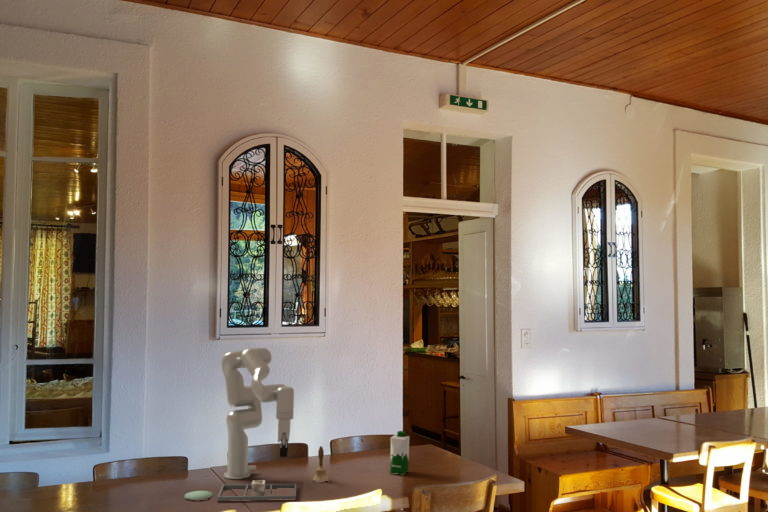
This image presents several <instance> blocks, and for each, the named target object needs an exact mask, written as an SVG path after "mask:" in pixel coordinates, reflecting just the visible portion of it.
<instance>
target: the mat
mask: <svg viewBox="0 0 768 512" xmlns="http://www.w3.org/2000/svg"><path fill="white" fill-rule="evenodd" d="M211 496H212V497H214V493H213V492H212V491H208V490H195V491H189V492H187V493H185V494H184V499H185V498H187V499H193V500H199V499H206V498H209V497H211ZM212 497H211V498H212Z"/></svg>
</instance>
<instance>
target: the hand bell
mask: <svg viewBox="0 0 768 512" xmlns="http://www.w3.org/2000/svg"><path fill="white" fill-rule="evenodd" d="M324 455H325V454H324V449H323V446H319V448H318V455H317V456H318V460H319V463H318V464H319V466H318V468H316V470H315V475H314V476H313V478H312V479H313V480H315V481H325V480H329V479H330V478H329V477H328V474H327V471H326V470H327V469H326V468H325V467H324V465H323V460H324ZM329 481H330V480H329Z"/></svg>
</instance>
